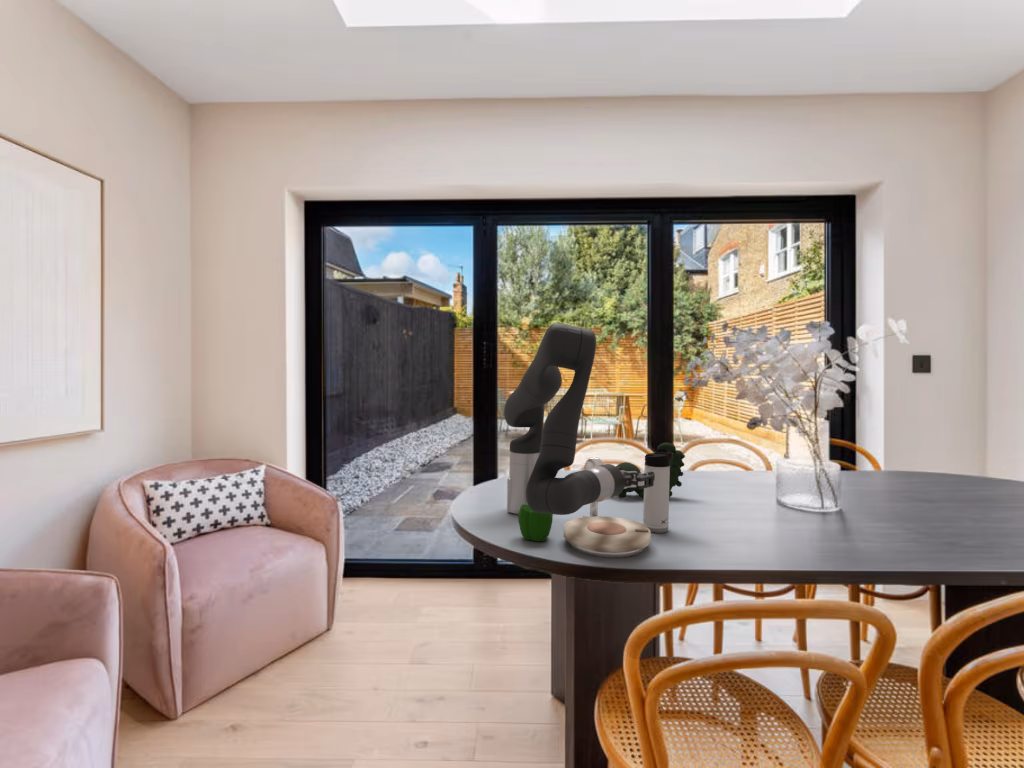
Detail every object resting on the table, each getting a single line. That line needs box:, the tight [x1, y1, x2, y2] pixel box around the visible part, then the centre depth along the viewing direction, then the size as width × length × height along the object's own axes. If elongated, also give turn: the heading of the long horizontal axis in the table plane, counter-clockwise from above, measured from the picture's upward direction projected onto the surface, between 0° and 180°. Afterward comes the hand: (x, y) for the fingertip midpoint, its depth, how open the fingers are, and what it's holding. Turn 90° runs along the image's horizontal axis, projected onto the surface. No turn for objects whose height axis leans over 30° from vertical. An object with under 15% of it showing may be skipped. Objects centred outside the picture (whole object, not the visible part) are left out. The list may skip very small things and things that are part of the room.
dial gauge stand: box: [582, 456, 604, 517], centre depth 141 cm, size 6×8×18 cm
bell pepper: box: [517, 504, 554, 542], centre depth 130 cm, size 8×8×10 cm
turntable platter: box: [563, 516, 652, 552], centre depth 126 cm, size 20×20×2 cm
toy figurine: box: [615, 442, 686, 499], centre depth 171 cm, size 9×19×25 cm
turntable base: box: [569, 542, 644, 559], centre depth 127 cm, size 17×17×1 cm
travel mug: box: [642, 451, 672, 534], centre depth 138 cm, size 6×7×20 cm
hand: (636, 473), depth 130 cm, fingers open, 8 cm apart
